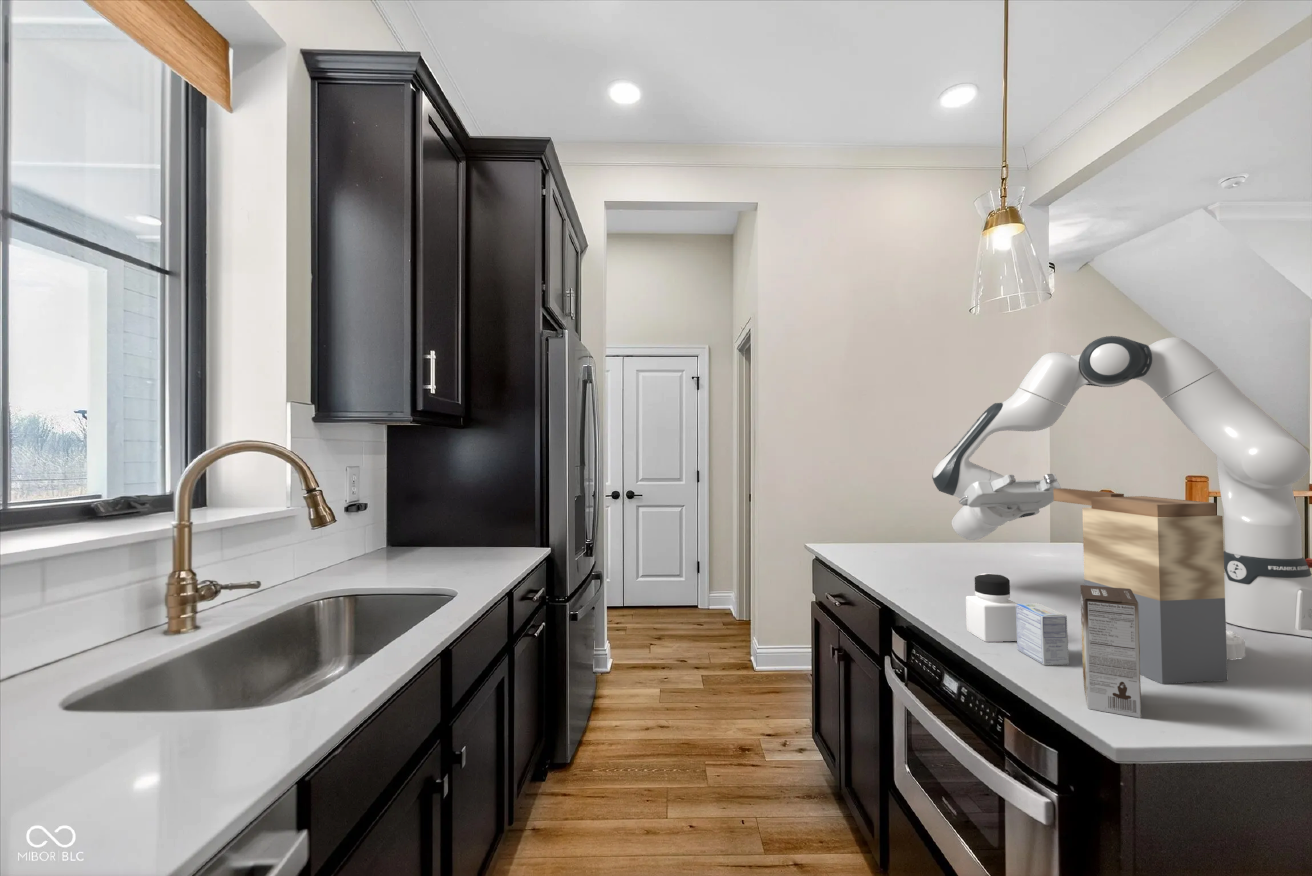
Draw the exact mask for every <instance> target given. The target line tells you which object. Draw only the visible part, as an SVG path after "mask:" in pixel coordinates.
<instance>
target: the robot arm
mask: <svg viewBox="0 0 1312 876" xmlns="http://www.w3.org/2000/svg"><path fill="white" fill-rule="evenodd" d="M1131 380H1137V381H1141V382H1143V383H1145V384H1146V385H1147V386H1149V387H1150V388H1151V389H1152V390H1153V391H1154V392H1155V393H1156V395H1157V396H1159V398H1160V399H1161V400H1162V401H1163V402H1164V403H1165V405H1167V407H1168V408H1169V409H1170V411H1171V412H1173V414H1174V415H1175V416H1176V417H1177V418H1178V419H1179V421H1181V422H1182V424H1183V425H1184V426H1185V427H1186V428H1187V429H1188V430H1189V431H1190V432H1191V433H1193V435H1195V436H1196V437H1197V438H1198V439H1199V440H1200V442H1202V443H1203V444H1204V445H1205V446H1206V447H1207V448H1208V449H1210V450H1211V452H1212V453H1213V454H1214V455H1215V456H1216V468H1217V474H1218V475H1217V477H1218V486H1219V492H1220V498H1221V504H1222V508H1223V520H1224V521H1223V523H1224V524H1223V529H1224V547H1225V548H1224V581H1225V614H1226V623H1228V624H1231V625H1235V626H1239V627H1243V628H1247V629H1251V630H1252V629H1253V630H1258V631H1264V632H1270V633H1271V632H1272V633H1279V634H1288V635H1293V636H1294V635H1295V636H1301V637H1306V638H1307V637H1308V638H1312V571H1311V569H1312V558H1311V557H1307V558H1305V557H1304V556H1303V550H1302V549H1303V543H1302V541H1303V539H1302V518H1301V515H1300V512H1299V511H1298V506H1297V503H1296V499H1295V495H1294V490H1293V484H1295V483H1297V482H1298V481H1300V480H1301V479H1302V478H1303V477H1304V476H1306V474H1307V473H1308V472H1309V470H1310V467H1311V457H1310V455H1309V452H1308V450H1307V449H1306V448H1305V447H1304V446H1303V445H1302V444H1301V443H1300V442H1298V441H1297V439H1295V438H1294V437H1293V436H1292V435H1291V434H1290V433H1289V432H1288V431H1286V430H1285V429H1284V428H1283V427H1282V426H1281V425H1280V424H1279V423H1278V422H1277V421H1275V420H1274V419H1273V418H1272V417H1271V416H1269V415H1268V414H1267V413H1266V412H1265V411H1263V410H1262V409H1261V408H1260V407H1259V406H1258V405H1256V404H1255V403H1254V402H1253V401H1251V400H1250V399H1249V398H1248V397H1247V396H1246V395H1245V394H1244V393H1243V392H1242V391H1241V390H1240V388H1239V387H1237V386H1236V385H1235V383H1234V382H1233V381H1231V379H1230V378H1229V377H1228V376H1227V375H1226V374H1225V373H1224V372H1223V371H1222V370H1221V369H1220V368H1219V366H1218V365H1216V364H1215V363H1214V361H1212V359H1210V358H1209V357H1208V356H1207V355H1206V354H1205V353H1203V352H1202V351H1201V350H1199V349H1198V348H1197V347H1195V346H1194V345H1193V344H1191V343H1190V342H1188V341H1187V340H1186V339H1183V338H1180V337H1176V336H1173V337H1166V338H1162V339H1158V340H1157V341H1155V342H1152V343H1151V344H1149V345H1148V344H1145V343H1142V342H1138V341H1136V340H1132V339H1129V338H1126V337H1123V336H1119V335H1118V336H1116V335H1110V336H1109V335H1108V336H1107V335H1106V336H1103V337H1100V338H1097V339H1094V340H1093V341H1091V342H1089V344H1087V346H1085V347H1084V348H1083V350H1082V352H1081V353H1079V354H1075V355H1072V354H1068V353H1066V352H1061V351H1052V352H1048V353H1047V352H1046V353H1045V354H1043V355H1042V356H1041V357H1040V358H1038V360H1037V361H1036V362H1035V364H1033V366H1032V367H1031V368H1030V370H1029V371H1028V372H1027V373H1026V375H1025V376H1024V378H1023V380H1021V382H1020V384H1019V385H1018V387H1017V389H1016V390H1015V392H1013V394H1012V395H1010V397H1009V398H1007V399H1006V400H1004V401H1001V402H995V403H993V404H992V405H990V406H988V407H987V409H986V410H985V411H983V412H982V414H981V415H980V416H979V417H978V418H977V419H976V421H975V422H974V423H973V424H972V425H971V426H970V428H968V429H967V431H966V432H965V434H964V435H963V436H962V437H961V438H960V439H959V441H957V443H956V445H954V446H953V448H952V449H951V450H950V451H949V452H948V453H947V454H946V455H945V456H944V457H943V458H942V459H941V460H940V461H939V462H938V463H937V465H936V466H935V467H934V469H933V472H932V476H931V479H932V481H933V484H934V485H935V487H936V489H937V490H938V492H940V493H942V494H943V493H944V494H945V495H946V494H947V495H948V496H954V497H956V498H958V499H959V500H958V504H960V505H962V507H960V508H959V510H958V511H957V512H956V513H955V515H954V516H953V518H952V519H951V526H952V529H953V531H954V532H955V533H956V535H958V536H959V537H961V538H963V539H965V540H967V541H968V540H969V541H978V540H980V539H982V538H983V539H984V538H985V537H987V536H988V535H990V534H992V533H993V532H994V531H996V530H997V529H998V527H1000V526H1003V525H1005V524H1006V523H1008V522H1012V521H1014V520H1017V519H1021V518H1026V517H1031V516H1036V515H1038V514H1039V513H1040V511H1041V510H1040V509H1043V508H1045V507H1047V506H1049V505H1051V504H1052V503H1053V502H1055V501H1054V493H1053V489H1059V488H1062V487H1061V485H1060V483H1059V482H1058V478H1057V476H1056V474H1055V473H1047V474H1045V475H1043V479H1018V480H1017V479H1016V478H1015V475H1014V474H1005V475H1002V474H1000V473H998V472H996V471H993V470H991V469H988V468H986V467H983V466H981V465H978V464H976V463H974V462H972V461H971V460H970V459H971V457H972V456H973V455H974V454H975V453H976V451H977V450H978V449H979V448H980V446H982V444H983V443H984V442H985V441H986V440H987V438H988V437H990V436H991V435H993V434H994V433H998V432H1003V431H1008V432H1009V431H1013V432H1036V431H1037V432H1039V431H1042V430H1045V429H1047V428H1050V427H1051V426H1053V425H1055V424H1056V423H1057V421H1058V420H1059V419H1060V417H1061V416H1062V415H1063V413H1064V411H1065V410H1066V408H1067V407H1068V405H1069V403H1070V401H1071V400H1072V399H1073V397H1074V395H1075V394H1076V393H1077V391H1079V389H1081V388H1082V387H1083V386H1093V387H1101V388H1113V387H1119V386H1121V385H1124V384H1126V383H1128V382H1130V381H1131Z"/></svg>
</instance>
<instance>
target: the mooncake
mask: <svg viewBox="0 0 1312 876" xmlns="http://www.w3.org/2000/svg"><path fill="white" fill-rule="evenodd" d="M1226 647H1227V658H1228V659H1233V660H1232V661H1235V660H1237V659H1236V658H1242V659H1243V658H1245V657H1246V640H1245V638H1243V636H1239V634H1237V633H1234V631H1230V630H1227V629H1226ZM1228 659H1227V660H1228Z"/></svg>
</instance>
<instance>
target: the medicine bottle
mask: <svg viewBox="0 0 1312 876" xmlns="http://www.w3.org/2000/svg"><path fill="white" fill-rule="evenodd" d="M1010 585H1011V582H1010V579H1009V578H1008V577H1006V576H1004V575H1002V574H998V573H980V574H977V575H975V576H974V595H967V596H965V615H966V617H965V619H966V621H965V622H966V631H967V632H968V633H970V634H971V633H972V635H973V636H975V637H977V638H978V639H980V640H981V641H983V642H985V643H1001V642H1003V641H1017V626H1016V604H1019V603H1017V602H1015V601H1013V600H1010V598H1011V586H1010Z"/></svg>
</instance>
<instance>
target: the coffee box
mask: <svg viewBox="0 0 1312 876" xmlns="http://www.w3.org/2000/svg"><path fill="white" fill-rule="evenodd" d="M1080 615H1081V616H1080V617H1081V618H1080V619H1081V620H1080V622H1081V648H1082V649H1081V653H1082V654H1081V655H1082V676H1083V677H1082V680H1083V681H1082V682H1083V689H1084V695H1085V702H1086V707H1087V709H1089V710H1093V711H1098V712H1099V711H1100V712H1105V713H1110V714H1117V715H1122V716H1126V717H1127V716H1128V717H1131V718H1132V717H1133V718H1138V719H1141V718H1142V700H1141V699H1142V692H1141V691H1142V690H1141V675H1140V645H1139V603H1138V601H1137V600H1136V598H1135V596H1134V594H1133V592H1132V590H1131V589H1126V588H1112V587H1101V586H1088V585H1084V584H1081V585H1080Z"/></svg>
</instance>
